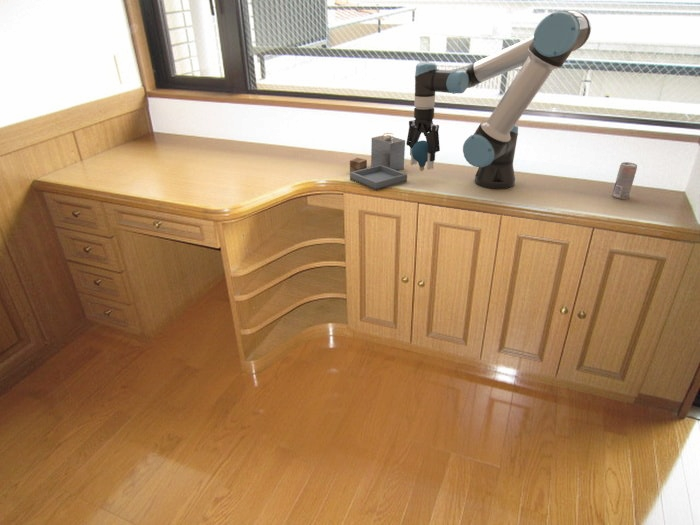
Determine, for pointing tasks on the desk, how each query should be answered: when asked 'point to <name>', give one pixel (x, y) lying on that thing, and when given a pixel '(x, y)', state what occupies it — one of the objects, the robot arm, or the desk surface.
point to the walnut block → (358, 164)
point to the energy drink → (624, 180)
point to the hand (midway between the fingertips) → (421, 166)
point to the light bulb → (420, 153)
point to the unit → (388, 151)
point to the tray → (378, 177)
